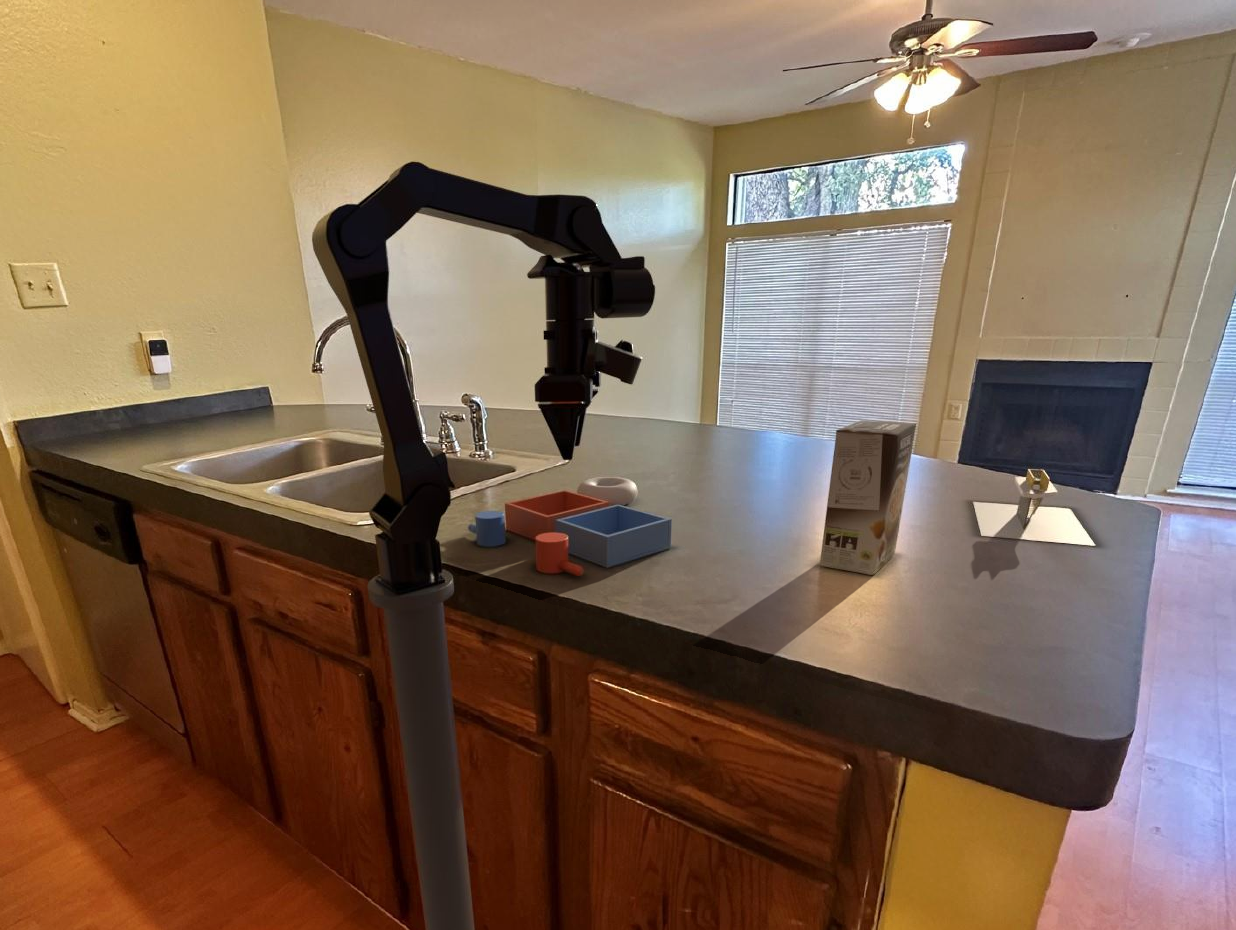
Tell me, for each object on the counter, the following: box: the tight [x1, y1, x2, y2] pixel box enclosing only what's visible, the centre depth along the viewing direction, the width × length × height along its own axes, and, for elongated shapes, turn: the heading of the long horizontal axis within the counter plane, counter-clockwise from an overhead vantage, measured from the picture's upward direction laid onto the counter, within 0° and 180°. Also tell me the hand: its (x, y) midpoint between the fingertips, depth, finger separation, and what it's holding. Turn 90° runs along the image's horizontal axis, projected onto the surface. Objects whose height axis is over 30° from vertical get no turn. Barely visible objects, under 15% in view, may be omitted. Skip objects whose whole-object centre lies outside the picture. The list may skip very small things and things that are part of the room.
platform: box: [972, 468, 1096, 546], centre depth 94 cm, size 12×18×7 cm, turn 152°
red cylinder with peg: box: [534, 532, 584, 577], centre depth 83 cm, size 8×4×4 cm, turn 36°
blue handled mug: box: [467, 510, 507, 548], centre depth 97 cm, size 8×4×4 cm, turn 36°
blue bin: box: [556, 505, 673, 569], centre depth 91 cm, size 11×10×4 cm
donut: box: [576, 476, 639, 507], centre depth 113 cm, size 10×4×10 cm
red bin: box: [504, 489, 609, 541], centre depth 100 cm, size 11×10×4 cm
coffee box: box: [819, 420, 917, 576], centre depth 81 cm, size 9×6×16 cm
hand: (571, 452), depth 87 cm, fingers open, 9 cm apart
